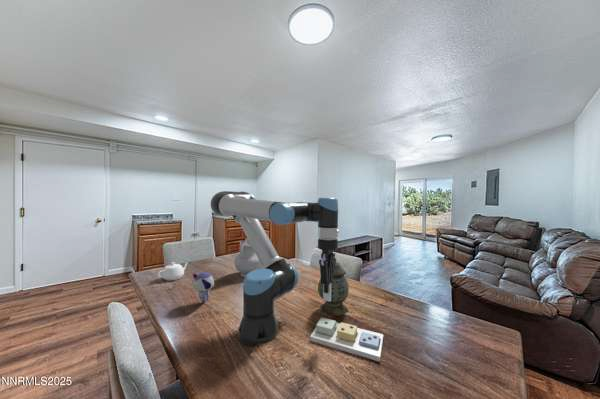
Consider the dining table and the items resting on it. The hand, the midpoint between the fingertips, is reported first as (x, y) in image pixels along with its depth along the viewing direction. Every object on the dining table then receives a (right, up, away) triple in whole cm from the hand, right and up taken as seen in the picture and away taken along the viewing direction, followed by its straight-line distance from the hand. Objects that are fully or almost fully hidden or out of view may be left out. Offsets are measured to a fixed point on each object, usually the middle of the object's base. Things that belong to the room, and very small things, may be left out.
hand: (327, 300), depth 85 cm
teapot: (-91, -12, +59) cm, 109 cm away
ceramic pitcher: (-45, -13, +66) cm, 81 cm away
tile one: (0, -11, 0) cm, 11 cm away
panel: (+7, -14, -3) cm, 16 cm away
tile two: (+7, -11, -3) cm, 14 cm away
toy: (-58, -13, +26) cm, 65 cm away
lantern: (+5, -14, +20) cm, 25 cm away
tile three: (+14, -13, -6) cm, 20 cm away
